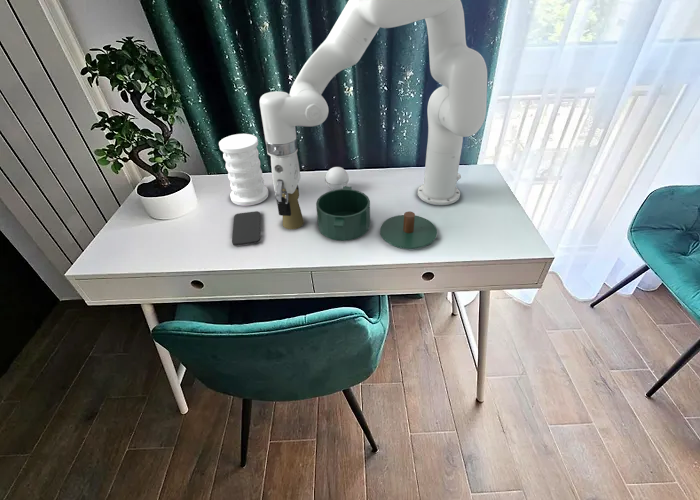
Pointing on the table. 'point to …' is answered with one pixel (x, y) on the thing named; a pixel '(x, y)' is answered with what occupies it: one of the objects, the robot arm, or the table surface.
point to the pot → (343, 214)
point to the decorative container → (244, 169)
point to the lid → (408, 231)
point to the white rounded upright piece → (336, 178)
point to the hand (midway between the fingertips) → (289, 205)
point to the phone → (246, 228)
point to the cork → (293, 212)
